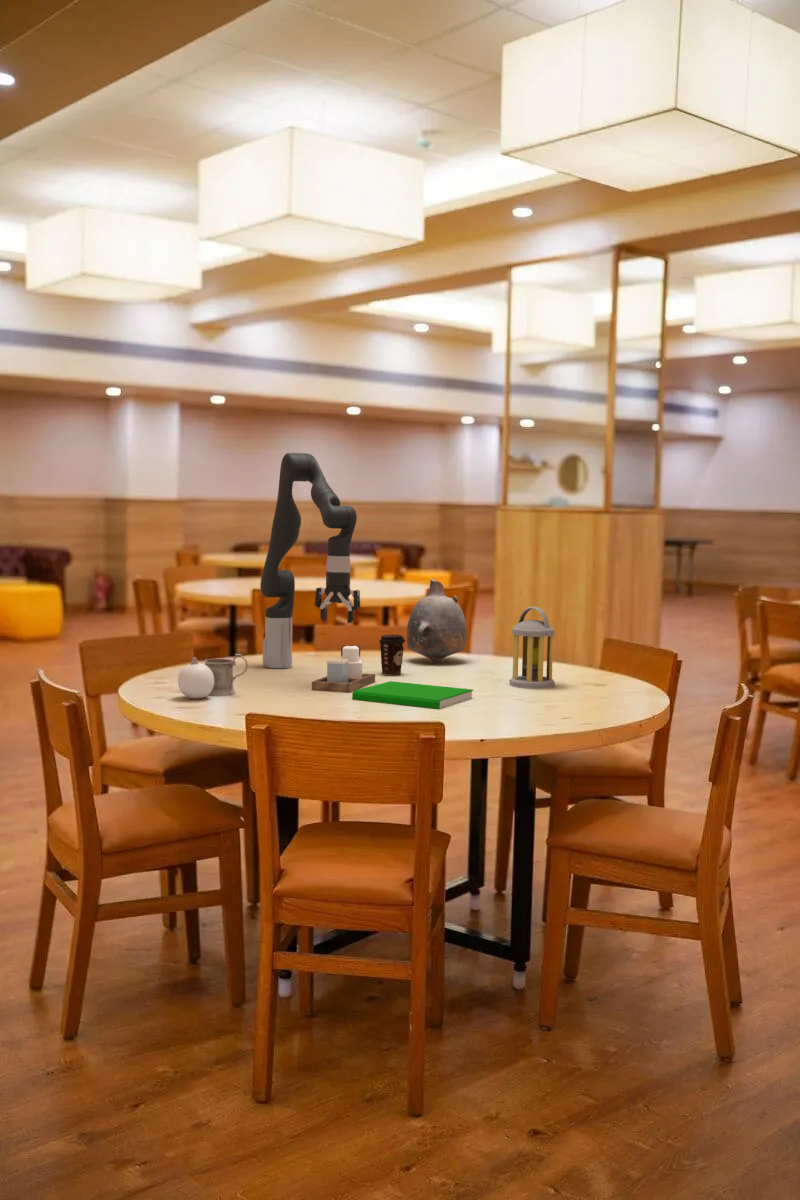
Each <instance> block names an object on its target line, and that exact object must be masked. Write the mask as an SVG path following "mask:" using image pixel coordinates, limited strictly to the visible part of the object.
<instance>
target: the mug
mask: <svg viewBox="0 0 800 1200" xmlns="http://www.w3.org/2000/svg"><path fill="white" fill-rule="evenodd" d="M234 655H235V656H233V659H230V658H229V659H228V658H210V659H205V660H204V663H205V664H204V665H206V666H208V667H209V668H210V669H211V671H212V673H213V675H214V686H213V689H212V691H211V692H210V693H209V694H208V695H207V696H213V697H215V696H216V697H219V696H221V697H223V696H233V695H235V694H237V692H236V691H235V689H234V685H233V684H234V681H235V679H236V678H237V677H240V676H243V675H244V674H246V672H247V671H248V665H249V663H248V660H247V658H245V657H244V655H243V654H242V653H235V654H234ZM237 658H241V659H243V660H244V662H245V668H244V670H243V672H240V673H239V674H236V675H235V676H234V666H236V664H237V663H236V659H237Z"/></svg>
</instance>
